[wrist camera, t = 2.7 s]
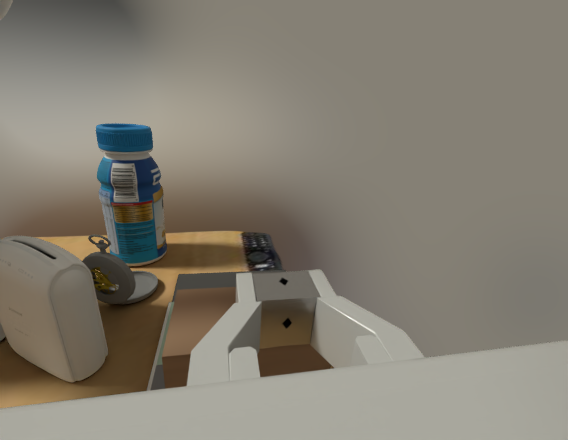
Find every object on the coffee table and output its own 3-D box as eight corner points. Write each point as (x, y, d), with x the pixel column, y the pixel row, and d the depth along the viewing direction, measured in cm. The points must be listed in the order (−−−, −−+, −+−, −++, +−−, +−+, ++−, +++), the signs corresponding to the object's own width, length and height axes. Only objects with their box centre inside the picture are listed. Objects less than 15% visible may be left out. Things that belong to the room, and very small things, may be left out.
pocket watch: (157, 273, 42) (150, 209, 39) (160, 309, 35) (152, 236, 32) (91, 283, 39) (77, 215, 35) (80, 325, 32) (61, 246, 28)
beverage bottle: (97, 258, 45) (72, 123, 37) (143, 238, 52) (129, 121, 44) (136, 274, 42) (117, 131, 34) (179, 251, 49) (171, 127, 41)
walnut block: (315, 442, 22) (335, 340, 18) (173, 466, 19) (161, 356, 16) (296, 372, 27) (308, 283, 23) (184, 386, 25) (177, 289, 21)
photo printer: (2, 350, 28) (-42, 237, 24) (49, 322, 32) (20, 220, 27) (73, 393, 25) (38, 272, 20) (116, 357, 29) (96, 247, 24)
